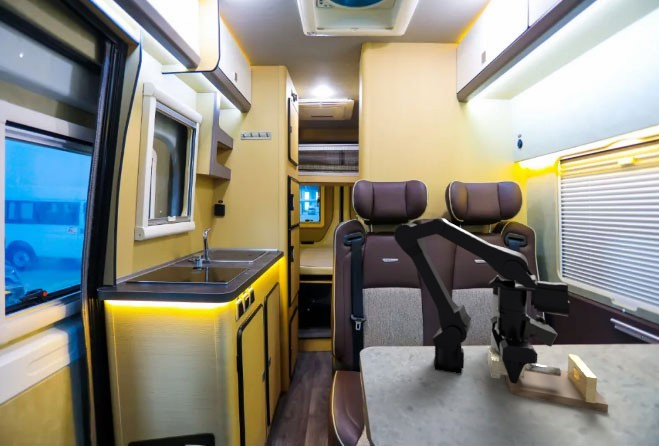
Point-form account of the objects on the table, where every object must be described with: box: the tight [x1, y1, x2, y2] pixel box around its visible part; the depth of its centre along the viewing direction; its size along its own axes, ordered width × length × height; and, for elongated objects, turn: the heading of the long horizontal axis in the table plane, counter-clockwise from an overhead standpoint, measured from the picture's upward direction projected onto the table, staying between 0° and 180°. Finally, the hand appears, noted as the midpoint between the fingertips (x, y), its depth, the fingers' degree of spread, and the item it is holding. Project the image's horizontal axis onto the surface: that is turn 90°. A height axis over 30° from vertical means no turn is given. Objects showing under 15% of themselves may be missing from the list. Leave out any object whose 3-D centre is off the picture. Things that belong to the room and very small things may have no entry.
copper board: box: [504, 369, 609, 413], centre depth 70 cm, size 17×12×2 cm
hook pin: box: [487, 346, 561, 379], centre depth 70 cm, size 14×7×4 cm, turn 70°
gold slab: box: [567, 354, 598, 403], centre depth 66 cm, size 2×10×5 cm, turn 160°
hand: (509, 372), depth 71 cm, fingers open, 8 cm apart
